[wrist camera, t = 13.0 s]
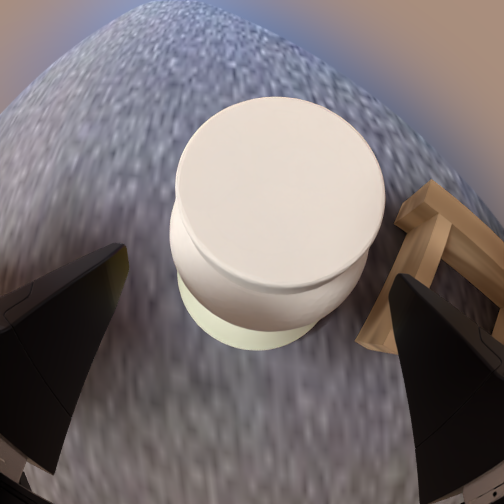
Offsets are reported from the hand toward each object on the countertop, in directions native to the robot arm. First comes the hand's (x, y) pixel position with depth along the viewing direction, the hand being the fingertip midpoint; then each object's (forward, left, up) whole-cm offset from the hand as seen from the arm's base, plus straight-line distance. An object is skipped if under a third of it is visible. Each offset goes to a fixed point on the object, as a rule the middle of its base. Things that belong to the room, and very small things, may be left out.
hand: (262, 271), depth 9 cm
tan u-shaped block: (+14, -7, -10) cm, 19 cm away
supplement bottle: (+1, +1, -9) cm, 10 cm away
